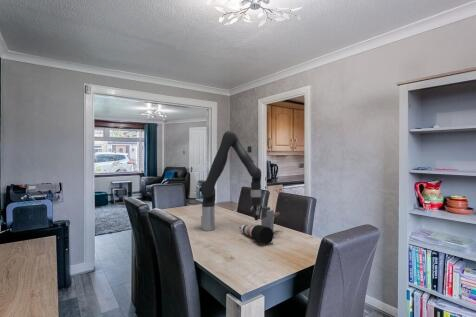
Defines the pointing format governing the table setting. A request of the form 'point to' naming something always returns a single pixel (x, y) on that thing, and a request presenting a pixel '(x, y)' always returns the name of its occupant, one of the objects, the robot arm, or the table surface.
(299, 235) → the table surface
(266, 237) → the telephoto camera lens
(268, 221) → the clamp post
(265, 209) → the hold down bar
